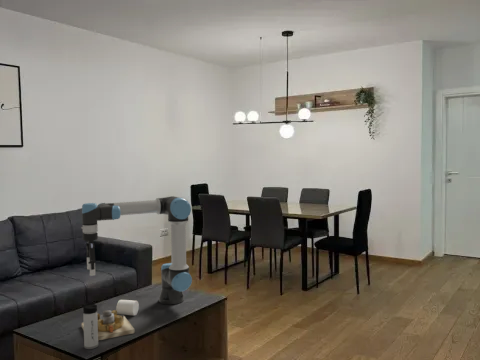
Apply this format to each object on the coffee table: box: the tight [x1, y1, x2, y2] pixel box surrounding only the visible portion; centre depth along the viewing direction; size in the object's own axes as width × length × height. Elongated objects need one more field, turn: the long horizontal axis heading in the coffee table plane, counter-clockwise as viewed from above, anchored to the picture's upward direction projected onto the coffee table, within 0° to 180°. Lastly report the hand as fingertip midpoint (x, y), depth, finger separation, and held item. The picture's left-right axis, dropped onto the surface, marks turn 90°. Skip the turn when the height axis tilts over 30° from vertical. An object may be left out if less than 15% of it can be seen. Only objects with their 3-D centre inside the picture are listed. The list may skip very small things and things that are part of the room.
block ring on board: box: [80, 309, 135, 341], centre depth 225 cm, size 22×22×10 cm
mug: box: [115, 299, 140, 316], centre depth 249 cm, size 12×10×8 cm
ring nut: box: [97, 309, 124, 332], centre depth 224 cm, size 16×18×5 cm
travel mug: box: [82, 303, 99, 350], centre depth 206 cm, size 6×7×20 cm
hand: (91, 272), depth 232 cm, fingers open, 13 cm apart
